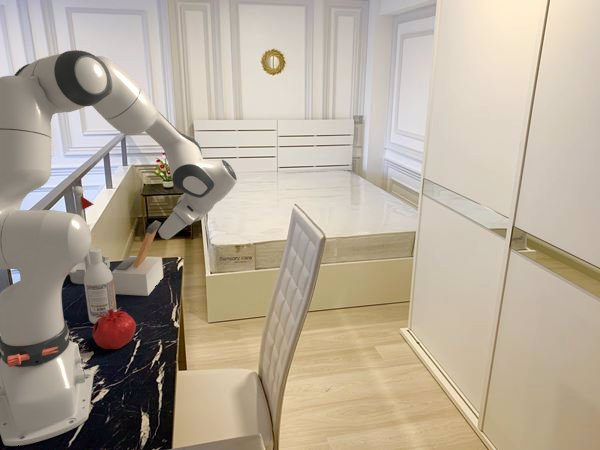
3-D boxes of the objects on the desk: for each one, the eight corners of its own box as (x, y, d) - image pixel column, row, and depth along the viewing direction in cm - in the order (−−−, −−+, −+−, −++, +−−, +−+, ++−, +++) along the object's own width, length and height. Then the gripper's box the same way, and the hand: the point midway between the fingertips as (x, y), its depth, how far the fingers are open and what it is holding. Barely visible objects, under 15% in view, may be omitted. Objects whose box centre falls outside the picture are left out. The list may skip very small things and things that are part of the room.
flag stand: (57, 281, 143) (42, 189, 133) (87, 266, 155) (75, 179, 145) (91, 288, 139) (79, 193, 130) (119, 271, 151) (110, 183, 142)
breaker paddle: (145, 260, 143) (161, 222, 138) (137, 268, 137) (153, 229, 132) (140, 257, 142) (155, 220, 138) (132, 266, 136) (147, 226, 132)
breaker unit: (163, 277, 148) (161, 255, 145) (148, 295, 135) (145, 272, 133) (131, 275, 148) (129, 254, 146) (113, 293, 136) (111, 270, 134)
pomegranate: (144, 335, 116) (142, 302, 113) (119, 357, 107) (116, 322, 104) (111, 328, 118) (108, 295, 115) (84, 348, 109) (80, 314, 106)
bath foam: (120, 319, 122) (113, 250, 116) (93, 328, 118) (84, 256, 112) (112, 309, 127) (104, 242, 121) (86, 317, 123) (76, 248, 117)
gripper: (195, 189, 142) (167, 217, 145) (174, 207, 122) (141, 239, 126) (210, 203, 143) (181, 231, 146) (191, 223, 123) (158, 255, 127)
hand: (162, 235), depth 136 cm, fingers closed
